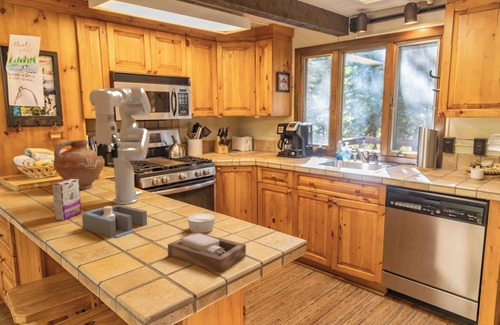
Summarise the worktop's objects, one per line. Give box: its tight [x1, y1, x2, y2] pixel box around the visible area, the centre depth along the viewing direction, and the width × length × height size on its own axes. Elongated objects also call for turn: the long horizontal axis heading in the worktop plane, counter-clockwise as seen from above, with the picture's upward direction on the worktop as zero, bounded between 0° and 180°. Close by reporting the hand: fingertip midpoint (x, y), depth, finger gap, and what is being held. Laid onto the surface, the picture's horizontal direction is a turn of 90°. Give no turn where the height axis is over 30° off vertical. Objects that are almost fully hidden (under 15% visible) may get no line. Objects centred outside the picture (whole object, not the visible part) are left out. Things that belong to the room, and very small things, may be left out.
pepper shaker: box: [102, 205, 117, 229], centre depth 135 cm, size 4×4×10 cm
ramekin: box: [187, 212, 216, 234], centre depth 137 cm, size 11×11×5 cm
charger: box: [181, 233, 226, 256], centre depth 112 cm, size 5×9×15 cm
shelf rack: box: [81, 204, 148, 239], centre depth 139 cm, size 18×20×7 cm
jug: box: [53, 139, 105, 190], centre depth 206 cm, size 28×28×30 cm
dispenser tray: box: [167, 232, 247, 273], centre depth 112 cm, size 14×22×4 cm, turn 59°
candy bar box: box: [51, 179, 83, 221], centre depth 151 cm, size 11×5×16 cm, turn 168°
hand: (107, 156), depth 151 cm, fingers open, 9 cm apart
